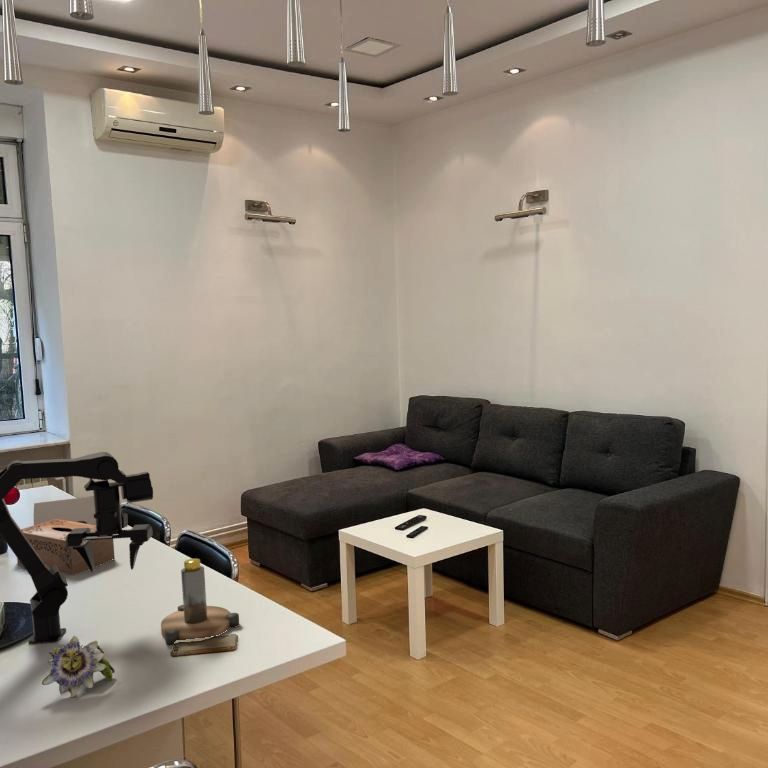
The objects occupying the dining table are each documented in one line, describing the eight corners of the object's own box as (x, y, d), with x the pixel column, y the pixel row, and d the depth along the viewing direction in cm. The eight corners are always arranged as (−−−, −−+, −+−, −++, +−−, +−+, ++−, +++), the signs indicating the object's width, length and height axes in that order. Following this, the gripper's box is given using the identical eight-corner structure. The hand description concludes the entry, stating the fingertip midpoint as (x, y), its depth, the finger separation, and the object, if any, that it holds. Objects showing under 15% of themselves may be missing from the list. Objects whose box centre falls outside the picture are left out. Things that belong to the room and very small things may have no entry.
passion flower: (77, 721, 152) (34, 687, 146) (74, 687, 161) (34, 654, 156) (125, 682, 154) (84, 647, 148) (119, 651, 163) (81, 616, 158)
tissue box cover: (17, 563, 234) (14, 531, 233) (58, 549, 246) (56, 518, 245) (74, 575, 221) (71, 541, 220) (114, 560, 233) (112, 528, 232)
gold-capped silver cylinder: (197, 625, 178) (193, 565, 176) (179, 622, 180) (175, 563, 178) (211, 616, 182) (208, 558, 181) (194, 613, 184) (190, 556, 183)
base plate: (234, 640, 173) (234, 630, 173) (153, 646, 172) (153, 635, 172) (243, 610, 191) (242, 600, 190) (169, 614, 189) (169, 605, 189)
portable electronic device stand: (35, 566, 249) (32, 544, 244) (35, 519, 267) (33, 498, 262) (111, 554, 257) (110, 534, 253) (106, 510, 275) (105, 489, 270)
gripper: (155, 495, 191) (159, 556, 193) (78, 499, 190) (83, 561, 192) (144, 507, 180) (149, 572, 182) (62, 511, 179) (68, 577, 181)
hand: (112, 570), depth 184 cm, fingers open, 9 cm apart
